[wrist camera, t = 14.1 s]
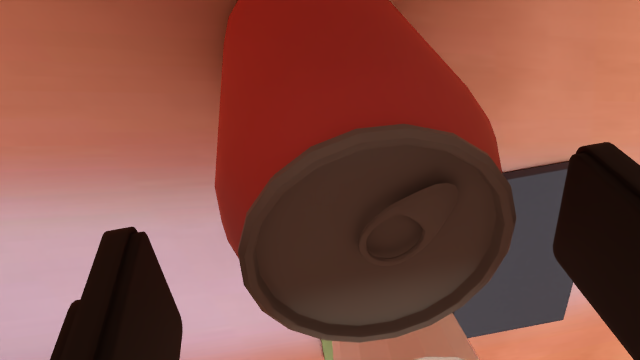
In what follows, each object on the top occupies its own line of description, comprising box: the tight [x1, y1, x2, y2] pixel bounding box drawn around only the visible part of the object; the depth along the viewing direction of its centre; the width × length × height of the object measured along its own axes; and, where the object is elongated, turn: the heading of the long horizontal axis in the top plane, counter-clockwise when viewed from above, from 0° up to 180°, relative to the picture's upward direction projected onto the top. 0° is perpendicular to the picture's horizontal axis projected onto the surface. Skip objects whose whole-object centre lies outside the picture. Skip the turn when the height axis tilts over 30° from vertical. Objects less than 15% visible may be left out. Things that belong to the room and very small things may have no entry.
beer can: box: [215, 0, 516, 343], centre depth 15 cm, size 7×7×12 cm
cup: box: [332, 313, 480, 360], centre depth 24 cm, size 7×7×7 cm
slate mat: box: [453, 162, 573, 338], centre depth 28 cm, size 12×7×1 cm, turn 7°
